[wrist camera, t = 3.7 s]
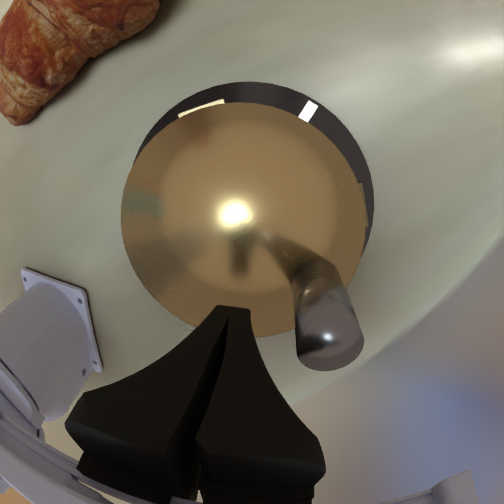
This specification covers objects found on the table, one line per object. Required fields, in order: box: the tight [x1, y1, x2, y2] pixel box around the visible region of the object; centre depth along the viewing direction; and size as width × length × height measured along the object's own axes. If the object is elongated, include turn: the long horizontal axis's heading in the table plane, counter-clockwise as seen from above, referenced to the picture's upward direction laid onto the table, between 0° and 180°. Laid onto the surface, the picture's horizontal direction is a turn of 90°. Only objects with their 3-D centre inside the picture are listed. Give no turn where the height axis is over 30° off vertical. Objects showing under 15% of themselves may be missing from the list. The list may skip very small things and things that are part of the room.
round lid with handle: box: [121, 99, 369, 371], centre depth 10 cm, size 10×10×7 cm
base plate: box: [132, 82, 374, 256], centre depth 14 cm, size 13×13×1 cm
